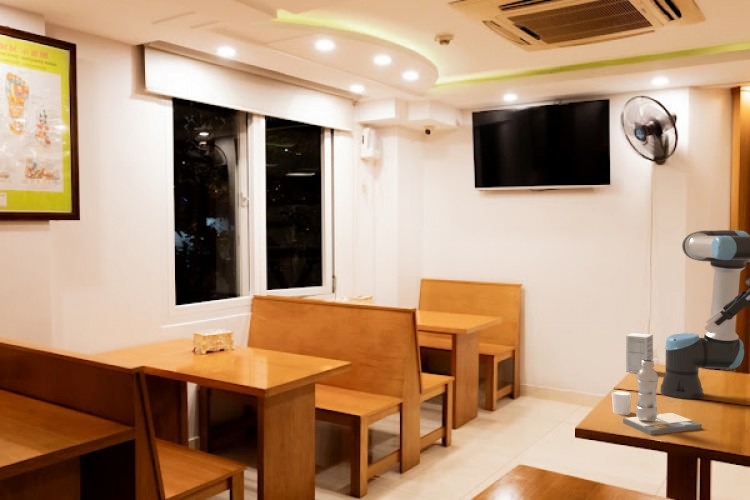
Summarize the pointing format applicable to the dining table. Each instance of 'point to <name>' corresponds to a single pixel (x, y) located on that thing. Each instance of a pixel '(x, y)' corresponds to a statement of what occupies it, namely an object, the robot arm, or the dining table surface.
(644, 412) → the plastic bottle
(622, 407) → the white cup
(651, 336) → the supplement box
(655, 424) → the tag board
